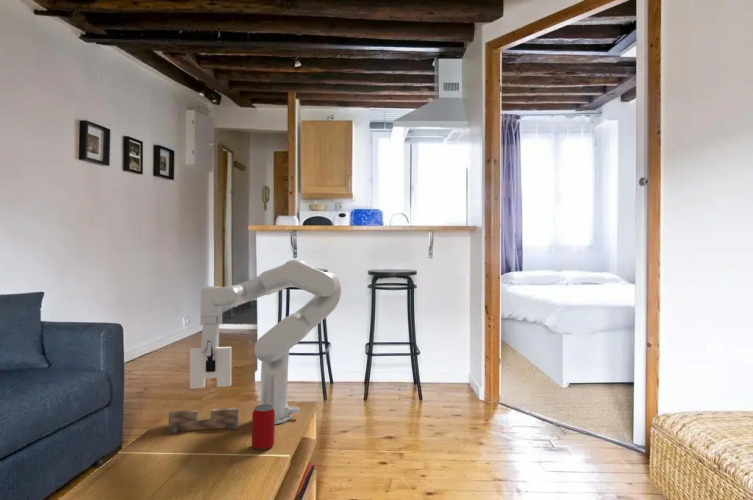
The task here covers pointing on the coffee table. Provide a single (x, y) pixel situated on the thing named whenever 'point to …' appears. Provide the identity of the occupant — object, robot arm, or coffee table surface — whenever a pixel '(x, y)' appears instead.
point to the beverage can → (263, 427)
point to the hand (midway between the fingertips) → (211, 370)
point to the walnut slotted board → (202, 420)
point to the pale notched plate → (220, 372)
